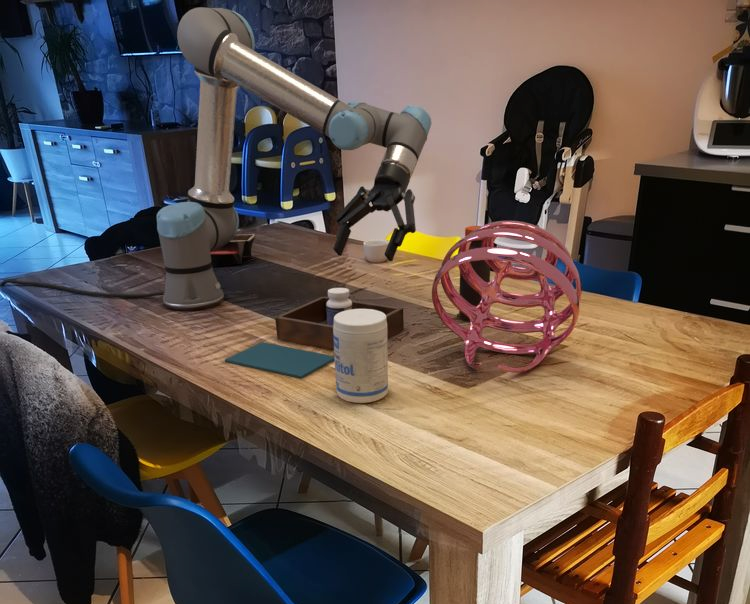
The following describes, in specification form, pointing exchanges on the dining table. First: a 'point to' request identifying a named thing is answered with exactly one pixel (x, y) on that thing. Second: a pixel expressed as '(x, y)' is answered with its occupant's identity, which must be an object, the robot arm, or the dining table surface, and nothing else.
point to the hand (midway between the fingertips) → (362, 255)
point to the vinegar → (480, 269)
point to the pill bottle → (337, 303)
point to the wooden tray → (307, 331)
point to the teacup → (375, 250)
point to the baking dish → (233, 251)
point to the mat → (281, 359)
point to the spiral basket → (492, 293)
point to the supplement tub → (361, 355)
